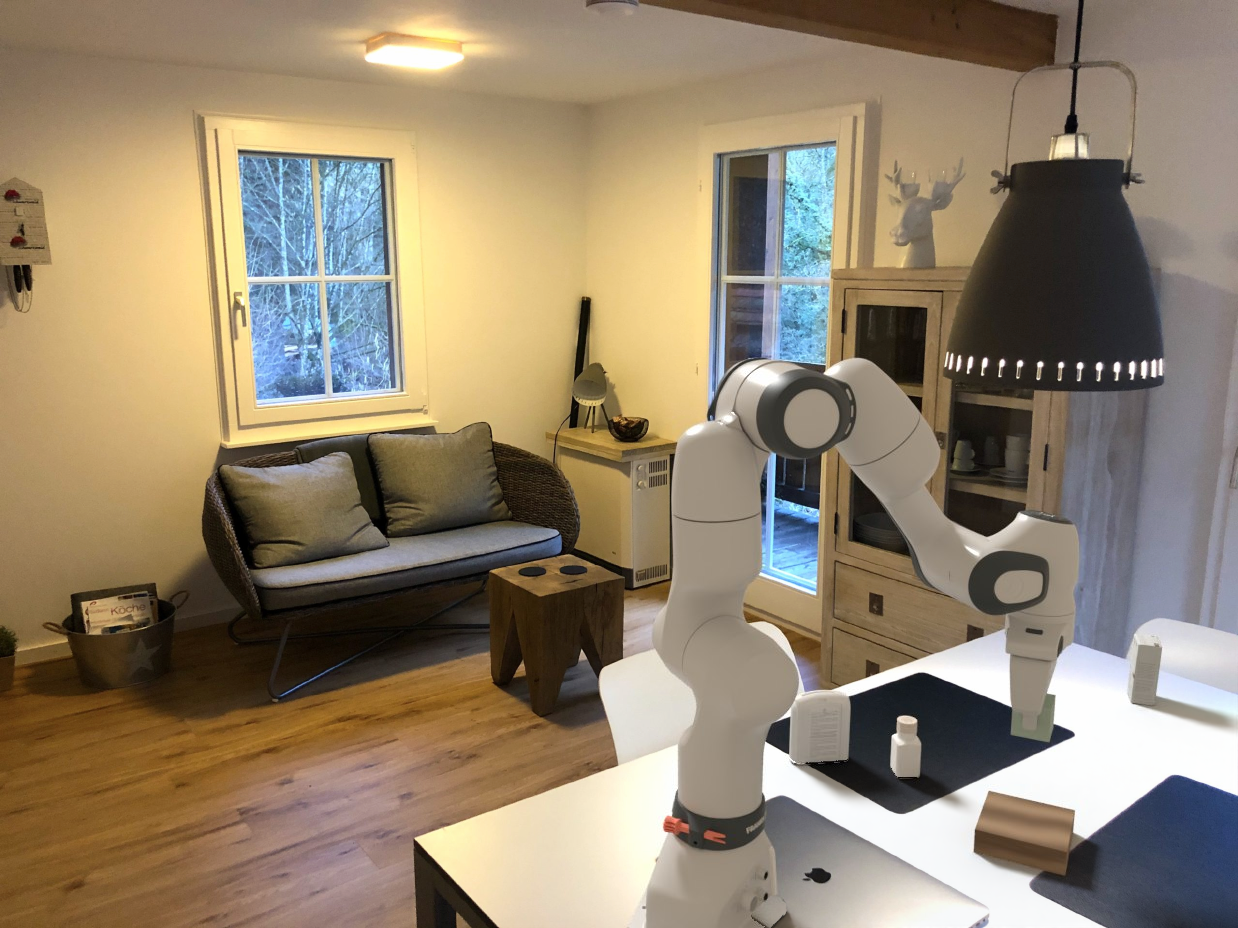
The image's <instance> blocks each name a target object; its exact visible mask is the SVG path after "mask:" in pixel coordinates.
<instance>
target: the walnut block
mask: <svg viewBox="0 0 1238 928" xmlns="http://www.w3.org/2000/svg"><path fill="white" fill-rule="evenodd" d="M1075 810H1076V809H1071V808H1067V807H1063V806H1058V805H1053V804H1049V803H1045V802H1041V801H1037V800H1032V799H1029V798H1028V799H1027V798H1023V797H1018V796H1013V795H1011V794H1010V795H1009V794H1005V793H1000V792H996V791H991V790H988V792H987V794H986V798H985V800H984V803H983V806H982V808H981V810H980V814H979V817H978V819H977V822H976V826H975V828H974V836H973V838H974V840H973V853H975V854H980V855H983V856H987V857H991V858H993V859H999V860H1001V861H1002V860H1003V861H1007V862H1009V863H1014V864H1018V865H1022V866H1025V867H1030V868H1033V869H1037V870H1041V871H1044V872H1048V873H1052V874H1057V875H1059V876H1060V875H1061V876H1066V873H1067V868H1068V862H1069V857H1070V851H1071V846H1072V841H1073V836H1074V828H1075V826H1074V825H1075V814H1076V811H1075Z"/></svg>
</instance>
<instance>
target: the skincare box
mask: <svg viewBox="0 0 1238 928" xmlns="http://www.w3.org/2000/svg"><path fill="white" fill-rule="evenodd" d="M1132 641H1133V642H1132V648H1131V658H1130V665H1129V667H1130V668H1129V674H1128V682H1127V689H1126V690H1127V696H1128V699H1129V702H1130V703H1132V704H1138V705H1143V706H1155V704H1156V699H1157V691H1158V682H1159V678H1160V677H1159V675H1160V670H1161V669H1160V668H1161V661H1162V654H1163V653H1162V651H1163V647H1162V644H1161V640H1160V639H1159V637H1158V635H1153V634H1152V635H1150V634H1139V633H1134V634H1133V640H1132Z"/></svg>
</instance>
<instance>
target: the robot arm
mask: <svg viewBox="0 0 1238 928" xmlns="http://www.w3.org/2000/svg"><path fill="white" fill-rule="evenodd" d="M706 412H707V413H706V420H707V421H703V422H700V423H697V424H694V425H692V426H690V427H689V428H688V429H685V431H684V432H683V433H682V434H681V435H680V437H679V438H678V440H677V443H676V447H675V454H674V459H673V468H672V477H671V478H672V479H671V526H672V527H671V528H672V529H671V530H672V555H673V556H672V576H671V577H672V579H671V582H670V583H671V584H670V589H669V593H668V598H667V601H666V604H665V605H664V606H663V607H662V608H661V609H660V610H659V612H658V614H657V615H656V617H655V619H654V622H653V624H652V628H651V639H652V645H653V647H654V649H655V651H656V653H657V654H658V657H659V658H660V660H661V661H662V663H663V664H664V666H665V667H666V668H667V671H668V672H670V673H671V674H672V675H674V677H676V678H677V679H678V680H680V681H681V682H682V683H684V685H686V686H687V687H688V688H689V689H691V691H692V693H693V695H694V700H695V704H696V705H695V714H694V717H693V722H692V724H691V725H690V726H689V727H687V728H686V729H685V730H684V731H683V732H682V733H681V735H680V736H679V739H678V742H677V789H676V791H675V795H674V799H673V802H672V807H671V816H670V815H666V816H665V818H664V819H663V823H662V828H663V829H662V831H664V832H665V833H667V834H666V837H665V839H664V842H663V844H662V847H661V850H660V853H659V855H658V856H657V860H656V862H655V865H654V868H653V870H652V873H651V876H650V879H649V881H648V884H647V886H646V888H645V890H644V892H643V894H642V897H641V898H640V900H639V902H638V905H637V906H636V909H635V910H634V912H633V915H632V917H631V919H630V921H629V923H628V925H627V928H764V927H765V926H762V925H761V924H759V923H758V922H757V921H754V919H752V917H751V914H752V913H754V911H755V910H756V909H757V908H758V907H759V906H760V905H761V904H762V903H763V902H766V901H767V899H768V898H769V897H770V896H772V895H776V894H778V884H777V883H778V881H777V880H778V879H777V863H776V851H775V848H774V845H772V843H771V841H770V839H769V838H768V835H767V833H766V831H765V826H766V817H767V804H766V798H765V794H764V792H763V782H764V781H763V779H764V778H763V776H764V775H763V774H764V756H765V755H764V751H765V745H766V742H767V741H766V740H767V737H768V733H769V730H770V729H771V726H772V724H774V723H775V722H777V721H779V720H780V719H782V718H783V717H784V716H785V715H786V714H787V713H788V711H789V710H791V706H792V704H793V703H794V701H795V698H796V696H797V695H798V692H799V686H800V678H799V672H798V668H797V667H796V664H795V662H794V661H793V660H792V658H791V657H790V656H789V655H788V654H787V652H786V651H785V650H784V649H783V648H782V647H781V646H780V644H778V642H777V641H775V639H774V638H772V637H771V636H769V635H768V634H766V633H765V632H763V631H761V630H760V629H758V628H757V627H754V626H753V625H752V624H750V623H748V622H747V621H746V618H745V615H744V614H745V613H744V602H745V596H746V592H747V589H748V586H749V585H751V584H752V583H753V582H754V581H756V580H757V578H758V577H759V576H760V575H761V572H762V569H763V535H762V533H763V532H762V531H763V529H762V527H763V525H762V524H763V523H762V499H761V498H762V497H761V496H762V495H761V486H760V485H761V483H762V476H763V472H764V468H765V466H766V463H767V461H768V460H769V458H770V456H771V455H772V454H774V455H778V456H780V457H781V458H784V459H789V460H806V459H812V458H815V457H818V456H820V455H823V454H825V453H826V452H827V451H829V450H831V449H832V448H833V447H834V448H835V449H836V450H837V452H838V453H839V454H840V457H842V459H843V460H844V461H845V463H846V464H847V465H848V467H849V468H850V469H851V470H852V471H853V473H854V474H855V475H856V477H858V478H859V479H860V481H862V483H863V484H864V485H865V486H866V487H867V488H868V489H869V490H870V491H871V492H872V493H873V494H874V495H875V497H876V498H877V500H878V501H879V502H880V504H881V505H882V507H883V508H884V510H885V511H886V513H887V515H888V517H889V518H890V519H891V520H892V522H893V523H894V524H895V527H897V529H898V531H899V532H900V533H901V535H902V536H903V538H904V540H905V542H906V544H907V547H908V551H909V555H910V561H911V564H912V566H913V570H914V572H915V575H916V577H917V578H918V580H920V582H921V583H922V584H924V586H926V587H928V588H929V589H933V590H935V591H937V592H940V593H943V594H945V595H947V596H949V597H950V598H953V599H955V600H957V601H959V602H960V603H962V604H964V605H966V606H968V607H970V608H971V609H974V610H976V611H978V612H979V613H982V614H986V615H989V616H1003V615H1005V624H1004V635H1005V653H1006V654H1007V655H1010V656H1009V695H1010V696H1009V698H1010V700H1009V701H1010V705H1011V709H1013V710H1014V711H1016V712H1020V713H1022V715H1023V723H1022V726H1023V728H1024V729H1027V730H1032V731H1034V730H1036V728H1037V723H1038V715H1039V714H1040V713H1041V711H1042V707H1043V704H1044V701H1045V697H1046V694H1048V691H1049V688H1050V685H1051V681H1052V678H1053V676H1054V673H1055V670H1056V667H1057V663H1058V662H1057V661H1058V659H1059V657H1060V655H1061V654H1063V651H1064V650H1065V649H1066V648H1067V647H1069V646H1071V645H1072V644H1073V642H1074V637H1075V623H1076V610H1077V609H1076V608H1077V605H1076V600H1075V595H1074V593H1075V589H1076V586H1077V583H1078V581H1079V571H1080V540H1079V539H1080V538H1079V532H1078V530H1077V527H1076V525H1075V524H1074V522H1072V520H1070V519H1068V518H1066V517H1063V516H1061V515H1058V514H1055V513H1050V512H1046V511H1040V510H1035V509H1026V510H1020V511H1018V513H1017V514H1016V517H1015V518H1014V520H1013V521H1012V522H1011V523H1009V524H1008V525H1007V526H1006V527H1005V528H1003V529H1001V530H1000V531H998V532H997V533H995V534H993V535H990V536H984V535H983V534H980V533H979V532H978V533H977V532H975V531H974V530H971V529H969V528H968V527H966V526H963V525H962V524H960V523H957V522H956V521H954V520H951V519H950V518H948V517H947V516H946V515H945V514H944V513H943V511H942V509H940V506H938V504H937V502H936V501H935V499H934V497H933V496H932V494H931V493H930V491H929V490H928V488H927V487H926V484H927V483H928V482H929V481H930V480H931V479H932V478H933V476H934V474H935V472H936V470H937V469H938V466H939V464H940V458H941V447H940V445H939V443H938V440H937V437H936V435H935V433H934V431H933V430H932V427H931V426H930V425H929V423H928V422H927V420H926V418H925V417H924V416H923V414H922V413H921V412H920V410H919V409H918V408H917V407H916V405H915V404H914V403H913V402H912V400H911V399H910V398H909V397H908V395H907V394H906V393H905V392H904V391H903V390H902V389H901V387H900V386H899V385H898V384H897V383H896V382H895V381H894V380H893V379H892V378H891V377H890V376H889V375H888V374H887V373H885V371H883V369H881V368H880V367H879V366H878V365H876V364H875V363H874V362H873V361H871V360H868V359H867V358H863V357H862V358H861V357H852V358H847V359H843V360H841V361H839V362H836V363H835V364H833V365H831V366H830V367H829V368H827V369H826V370H825V371H824V372H823V373H822V372H820V371H818V370H817V371H816V370H813V369H807V368H804V367H802V366H800V365H798V364H796V363H793V362H791V361H785V360H782V359H769V358H767V357H752V358H751V357H750V358H748V359H747V358H746V359H744V360H742V361H739V362H737V363H735V364H734V365H732V366H731V367H730V368H729V369H727V370H726V371H725V373H724V374H723V375H722V377H721V379H720V381H719V383H718V386H717V388H716V391H715V394H714V398H713V399H712V402H711V403H710V406H709V408H708V410H707V411H706ZM711 417H712V419H711Z"/></svg>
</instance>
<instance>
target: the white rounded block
mask: <svg viewBox="0 0 1238 928" xmlns="http://www.w3.org/2000/svg"><path fill="white" fill-rule="evenodd" d="M789 721H790V723H789V724H790V725H789V749H788V750H789V755H788V756H789V757H790V758H791V759H792V760H793V761H795V762H796V763H806V762H808V763H809V762H821V761H822V762H823V761H836V760H837V761H838V760H847V759H848V760H849V750H850V748H849V747H850V745H849V744H850V726H851V724H850V723H851V700H850V697H849V696H848V695H847V694H846V693H845V692H842V691H839V690H838V691H837V690H834V689H830V690H829V689H817V690H811V691H805V692H802V693H799V694H797V696H796V698H795V701H794V703H793V704H792V706H791V708H790V720H789ZM789 757H788V758H789ZM848 760H847V761H848Z"/></svg>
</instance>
